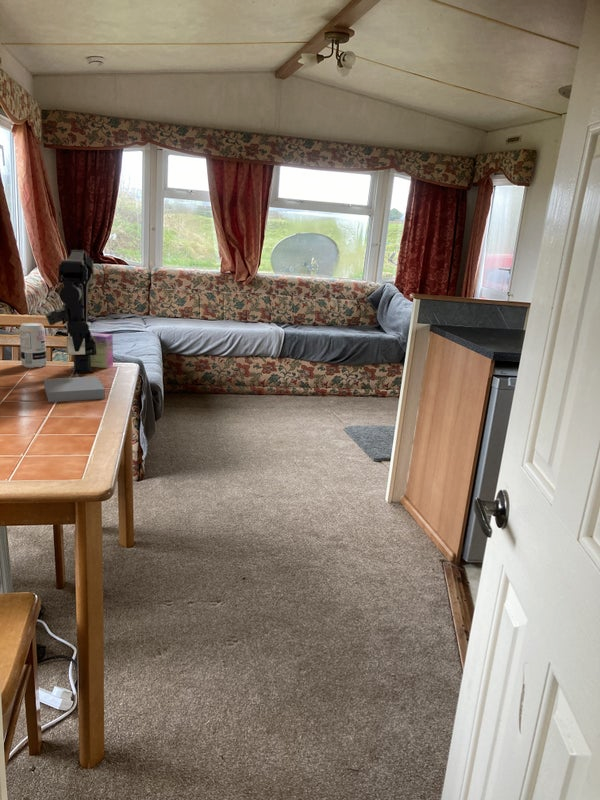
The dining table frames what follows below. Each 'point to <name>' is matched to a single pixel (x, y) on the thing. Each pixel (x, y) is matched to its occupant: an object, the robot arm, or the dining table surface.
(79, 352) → the cube
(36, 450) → the dining table surface
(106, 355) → the box
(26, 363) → the supplement can
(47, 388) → the base board
